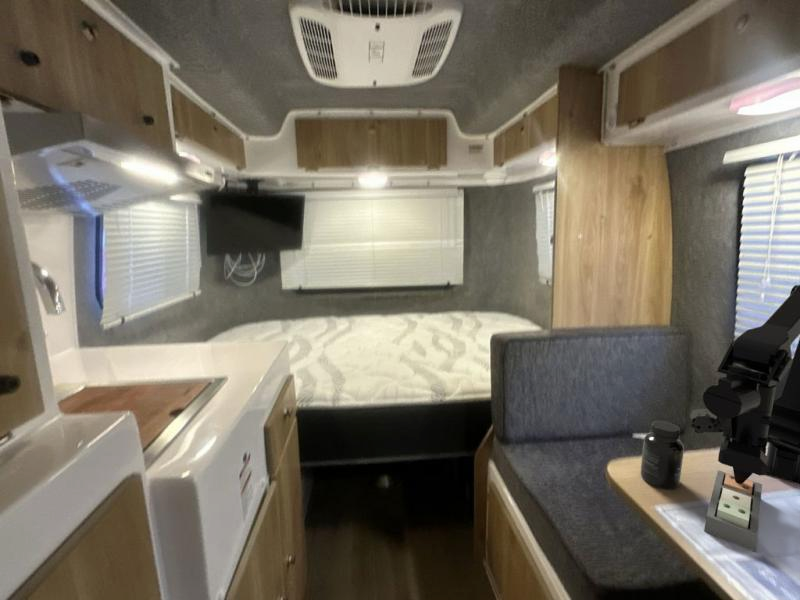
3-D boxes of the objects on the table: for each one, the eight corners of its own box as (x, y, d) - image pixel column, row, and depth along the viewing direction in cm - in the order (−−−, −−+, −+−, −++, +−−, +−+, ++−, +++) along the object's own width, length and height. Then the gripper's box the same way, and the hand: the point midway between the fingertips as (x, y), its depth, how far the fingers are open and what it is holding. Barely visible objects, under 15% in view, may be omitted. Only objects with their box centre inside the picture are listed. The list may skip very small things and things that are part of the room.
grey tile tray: (716, 483, 81) (718, 470, 81) (759, 498, 77) (762, 484, 76) (704, 531, 69) (706, 515, 69) (755, 551, 65) (757, 535, 64)
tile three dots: (724, 484, 79) (726, 472, 79) (751, 493, 77) (753, 481, 76) (722, 494, 77) (724, 482, 76) (749, 504, 74) (751, 491, 73)
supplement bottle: (686, 492, 79) (693, 436, 77) (647, 488, 80) (653, 433, 78) (670, 471, 85) (676, 419, 83) (635, 468, 87) (640, 416, 84)
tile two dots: (718, 510, 71) (720, 497, 71) (748, 521, 69) (750, 507, 68) (715, 522, 69) (717, 508, 68) (746, 534, 66) (748, 520, 65)
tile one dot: (721, 499, 76) (723, 487, 75) (749, 509, 73) (751, 496, 72) (718, 510, 73) (720, 497, 72) (747, 521, 70) (750, 508, 70)
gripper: (703, 379, 85) (694, 446, 88) (688, 409, 72) (678, 487, 75) (774, 393, 78) (762, 466, 81) (772, 430, 64) (758, 516, 67)
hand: (738, 481), depth 76 cm, fingers closed, pressing on tile three dots
